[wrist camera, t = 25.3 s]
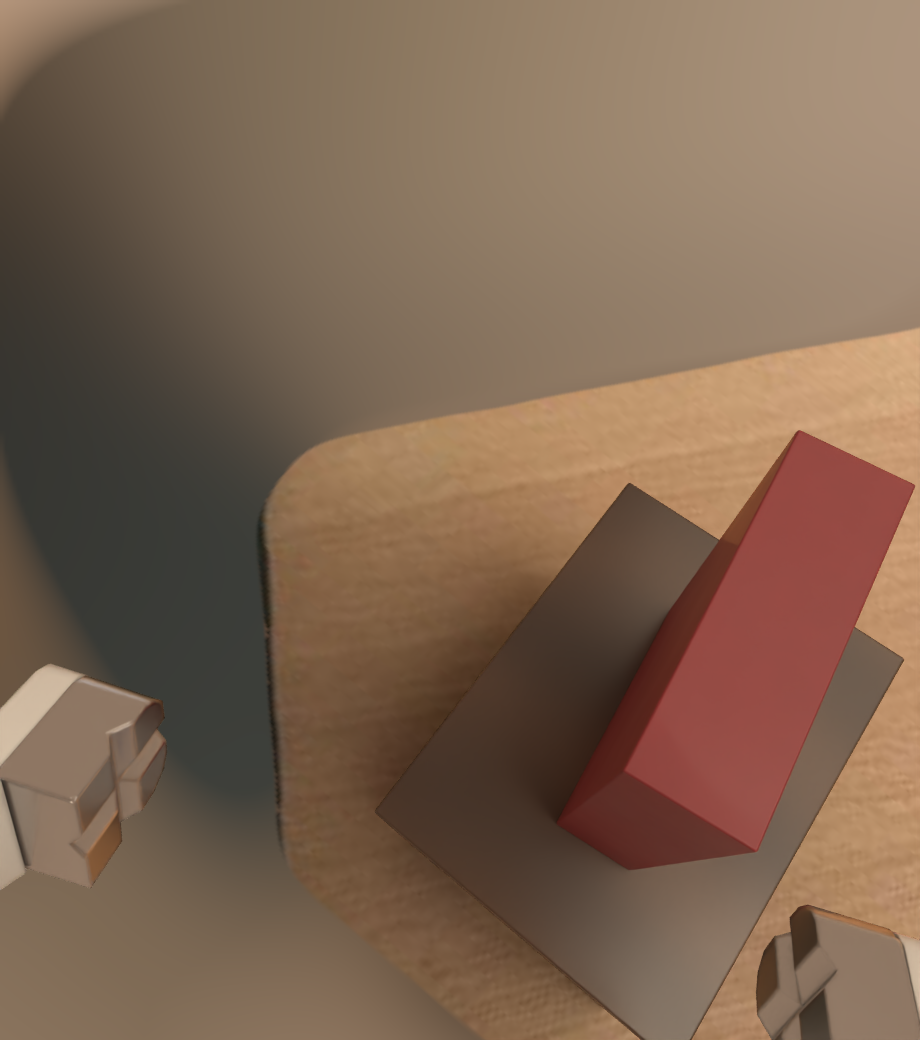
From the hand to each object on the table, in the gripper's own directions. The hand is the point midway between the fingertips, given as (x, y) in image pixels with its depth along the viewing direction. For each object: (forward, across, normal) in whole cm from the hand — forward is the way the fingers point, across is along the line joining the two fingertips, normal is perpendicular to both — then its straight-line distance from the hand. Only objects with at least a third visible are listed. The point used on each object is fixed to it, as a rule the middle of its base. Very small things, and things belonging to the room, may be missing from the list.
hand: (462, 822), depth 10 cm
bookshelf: (+21, -6, +25) cm, 33 cm away
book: (+14, -6, +13) cm, 20 cm away
